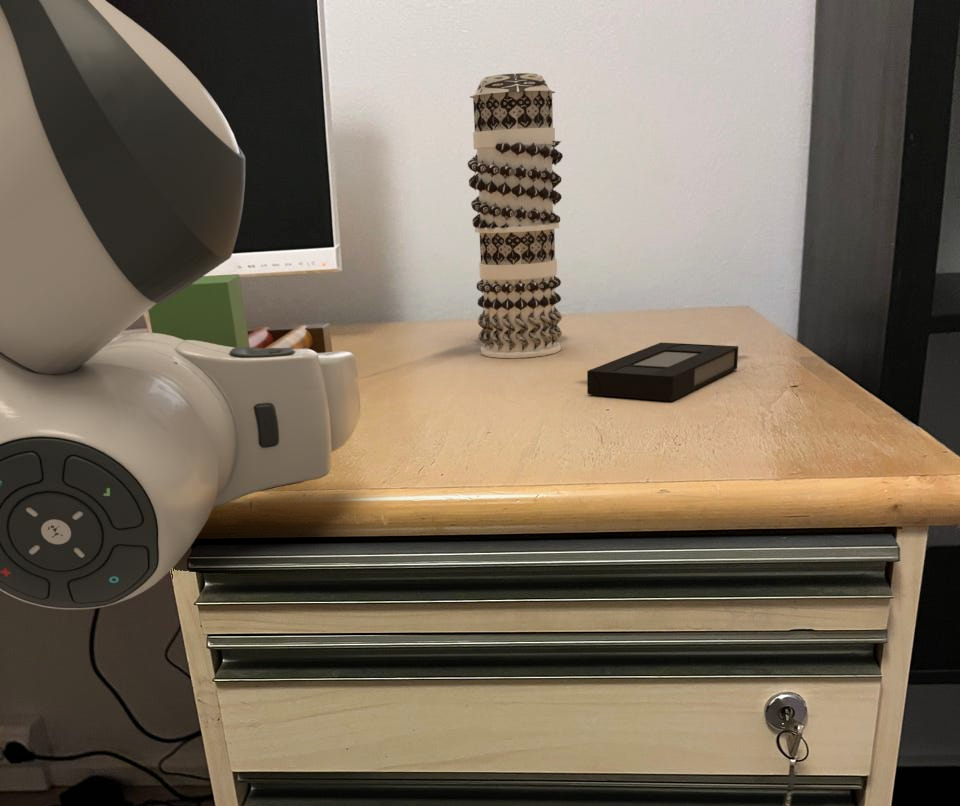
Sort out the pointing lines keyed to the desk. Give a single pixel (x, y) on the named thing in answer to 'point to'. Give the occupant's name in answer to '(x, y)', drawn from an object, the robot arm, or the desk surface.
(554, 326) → the decorative candle
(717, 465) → the desk surface
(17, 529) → the robot arm
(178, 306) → the bar
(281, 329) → the rack
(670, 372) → the vhs tape
